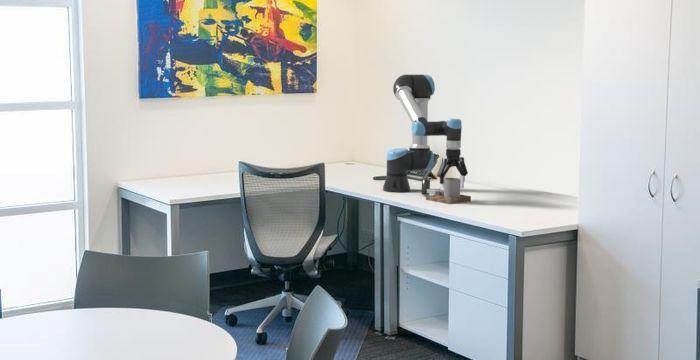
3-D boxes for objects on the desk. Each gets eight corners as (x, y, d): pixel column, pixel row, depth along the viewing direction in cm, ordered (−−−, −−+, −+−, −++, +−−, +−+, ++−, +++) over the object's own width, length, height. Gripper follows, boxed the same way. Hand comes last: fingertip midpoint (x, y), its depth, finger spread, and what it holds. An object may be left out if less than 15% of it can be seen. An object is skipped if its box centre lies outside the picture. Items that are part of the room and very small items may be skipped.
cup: (440, 197, 470) (441, 178, 468) (451, 196, 475) (452, 177, 473) (451, 199, 463) (452, 180, 462) (463, 198, 468) (463, 179, 467)
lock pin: (419, 193, 485) (420, 179, 484) (425, 193, 488) (426, 178, 487) (439, 197, 473) (440, 182, 472) (445, 197, 475) (446, 182, 474)
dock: (426, 199, 471) (426, 192, 471) (447, 197, 481) (448, 189, 481) (448, 204, 458) (448, 196, 458) (470, 201, 468) (470, 193, 467)
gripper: (441, 150, 455) (439, 191, 458) (475, 148, 470) (474, 188, 473) (430, 149, 461) (429, 189, 464) (465, 146, 476) (463, 186, 479)
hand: (452, 189), depth 468 cm, fingers open, 13 cm apart
